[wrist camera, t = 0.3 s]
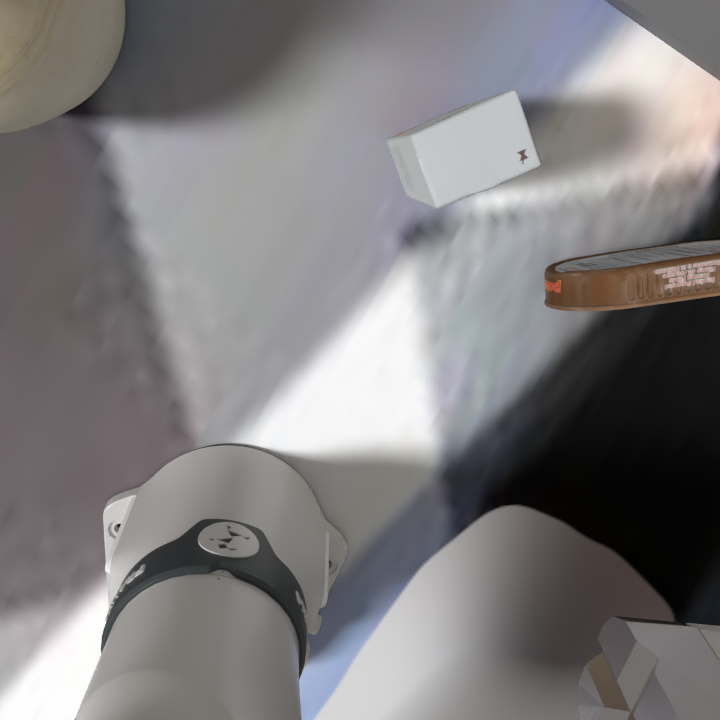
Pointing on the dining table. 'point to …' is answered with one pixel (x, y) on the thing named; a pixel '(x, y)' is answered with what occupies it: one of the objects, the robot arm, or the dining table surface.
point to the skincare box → (465, 151)
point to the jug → (54, 56)
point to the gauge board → (681, 26)
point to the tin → (635, 277)
